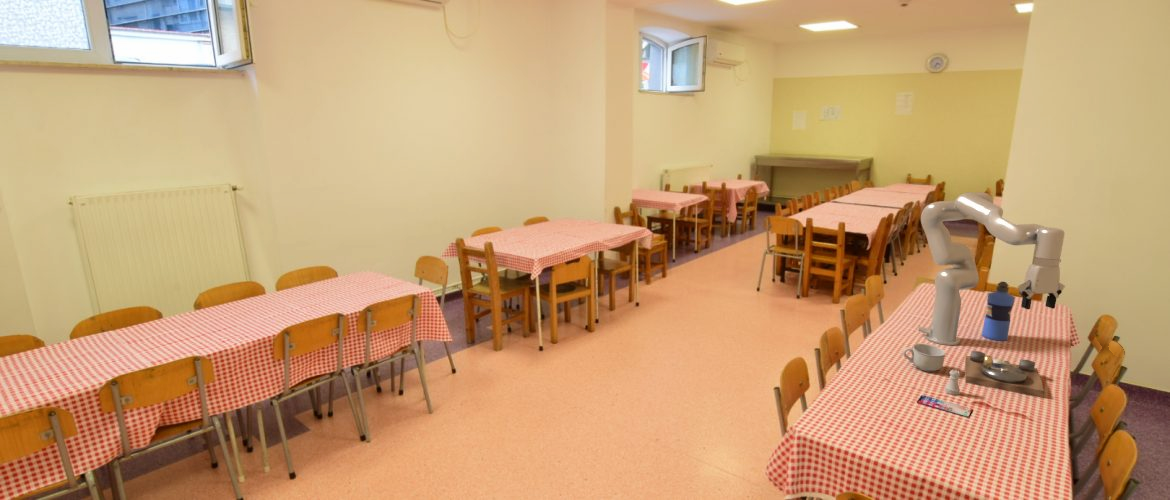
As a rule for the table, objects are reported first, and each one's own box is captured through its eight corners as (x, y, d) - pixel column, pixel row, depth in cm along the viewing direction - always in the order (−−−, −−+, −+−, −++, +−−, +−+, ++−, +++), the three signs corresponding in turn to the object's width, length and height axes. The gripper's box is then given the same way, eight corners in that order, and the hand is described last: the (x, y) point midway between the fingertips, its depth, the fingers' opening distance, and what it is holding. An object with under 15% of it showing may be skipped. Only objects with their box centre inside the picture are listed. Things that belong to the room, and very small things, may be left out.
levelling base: (965, 382, 205) (967, 368, 203) (965, 361, 223) (967, 348, 221) (1043, 397, 193) (1045, 382, 192) (1035, 374, 211) (1038, 360, 210)
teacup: (940, 365, 219) (943, 346, 217) (944, 376, 209) (947, 356, 208) (899, 359, 225) (902, 340, 223) (901, 370, 215) (904, 350, 213)
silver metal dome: (981, 377, 202) (984, 362, 201) (980, 365, 213) (983, 350, 211) (1027, 386, 195) (1030, 370, 194) (1024, 373, 206) (1026, 357, 205)
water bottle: (984, 339, 246) (993, 283, 240) (979, 332, 254) (987, 278, 249) (1010, 342, 242) (1020, 286, 237) (1004, 335, 251) (1013, 280, 245)
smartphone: (969, 417, 179) (915, 402, 189) (968, 419, 180) (915, 404, 189) (973, 408, 185) (921, 394, 195) (973, 410, 185) (921, 396, 195)
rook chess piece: (954, 396, 194) (958, 374, 192) (941, 391, 198) (944, 369, 196) (962, 393, 196) (965, 372, 194) (949, 388, 200) (952, 367, 198)
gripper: (1058, 259, 209) (1050, 304, 212) (1014, 260, 207) (1007, 305, 210) (1077, 264, 201) (1068, 310, 205) (1032, 265, 200) (1024, 311, 203)
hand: (1037, 307), depth 208 cm, fingers open, 9 cm apart
